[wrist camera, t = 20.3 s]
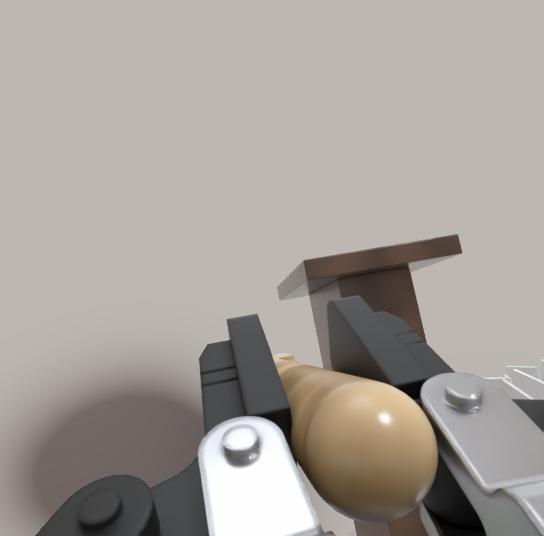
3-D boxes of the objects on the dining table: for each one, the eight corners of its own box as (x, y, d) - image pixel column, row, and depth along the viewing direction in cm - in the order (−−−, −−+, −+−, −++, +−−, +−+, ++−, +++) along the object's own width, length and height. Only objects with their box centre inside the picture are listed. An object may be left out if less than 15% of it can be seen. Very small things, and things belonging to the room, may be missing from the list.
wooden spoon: (237, 592, 5) (208, 423, 5) (225, 387, 29) (220, 359, 30) (565, 503, 6) (525, 353, 6) (286, 374, 30) (280, 347, 30)
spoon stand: (403, 761, 28) (303, 260, 33) (338, 612, 44) (277, 286, 49) (575, 704, 30) (458, 233, 34) (454, 580, 46) (384, 267, 50)
